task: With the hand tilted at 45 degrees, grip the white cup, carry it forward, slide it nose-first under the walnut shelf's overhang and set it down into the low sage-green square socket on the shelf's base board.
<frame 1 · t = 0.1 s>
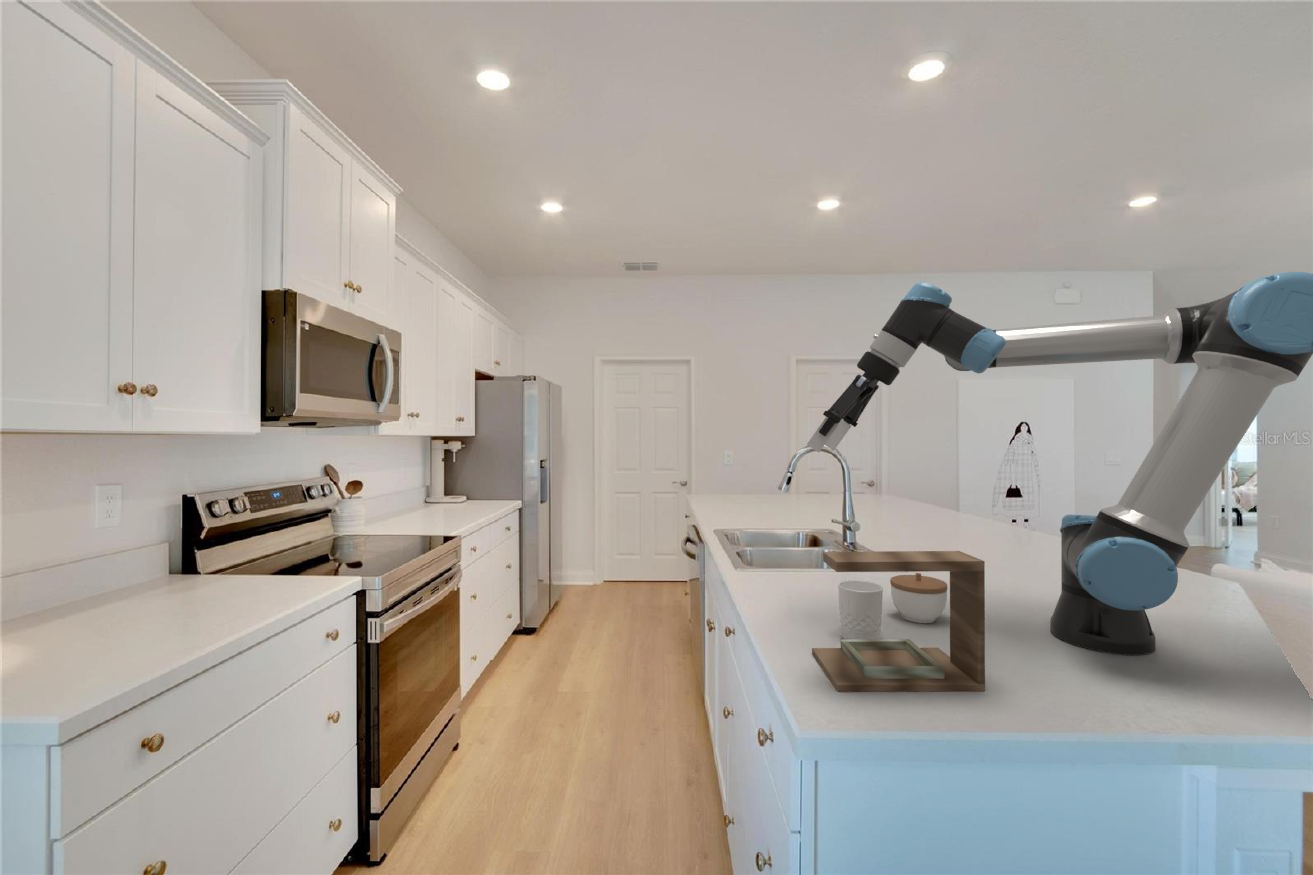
hand: (820, 447, 113), 36 cm above the counter, tool tilted 35°, fingers open, 13 cm apart
shelf unit: (891, 670, 89), on the counter
white cup: (860, 639, 103), on the counter
lidded jar: (918, 619, 114), on the counter
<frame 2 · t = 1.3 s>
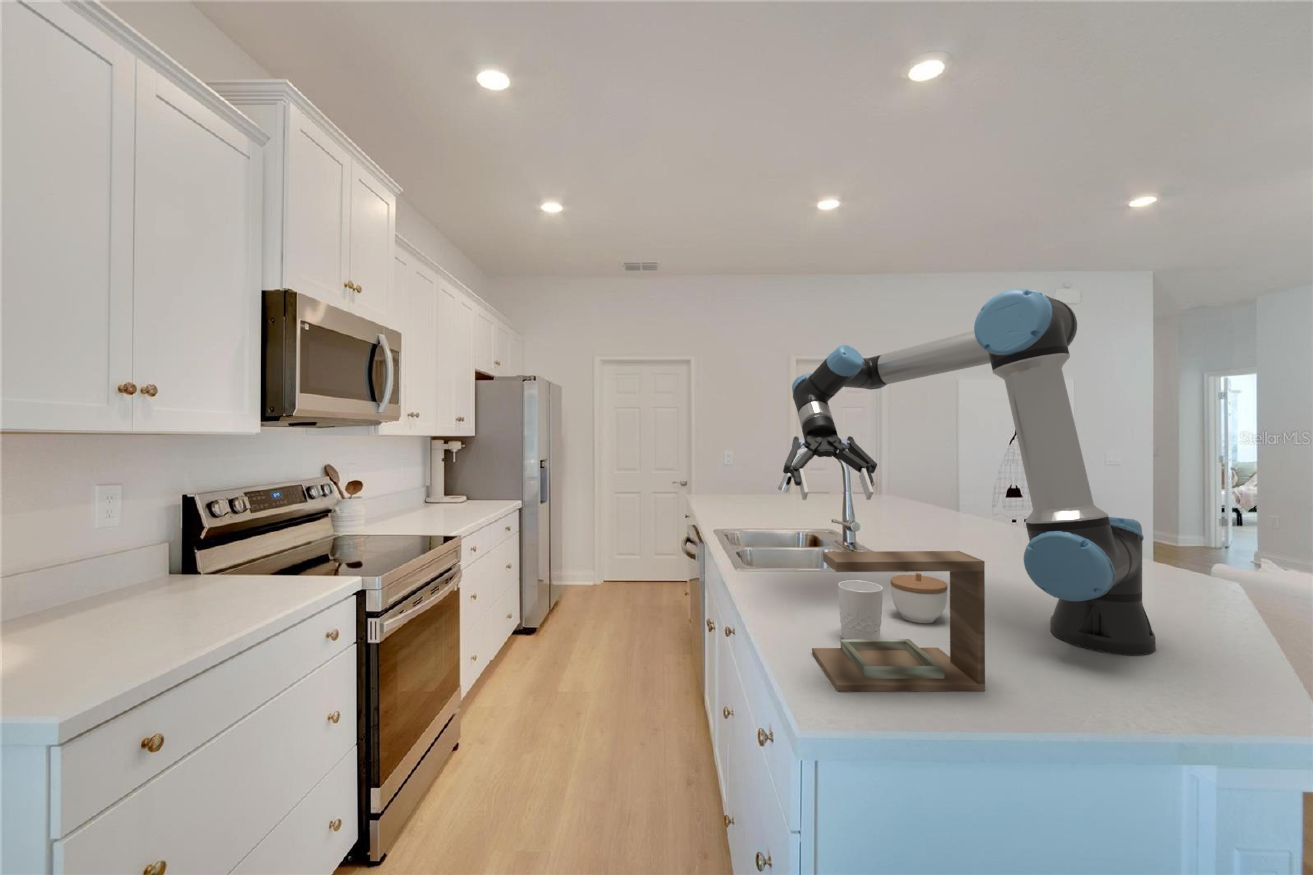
hand: (837, 496, 115), 25 cm above the counter, tool tilted 45°, fingers open, 13 cm apart
nothing on the counter moved.
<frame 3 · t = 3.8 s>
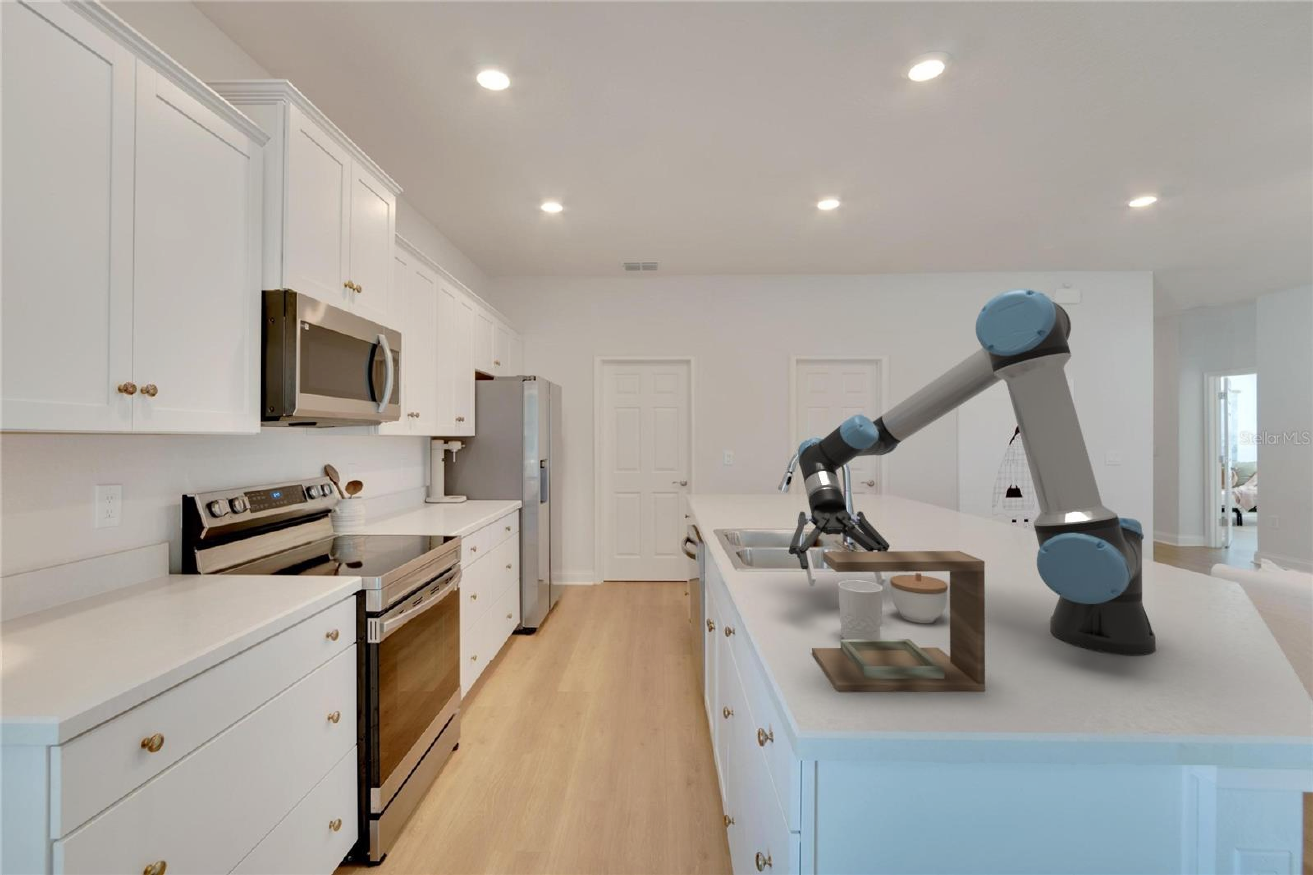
hand: (847, 583, 107), 9 cm above the counter, tool tilted 45°, fingers open, 13 cm apart
nothing on the counter moved.
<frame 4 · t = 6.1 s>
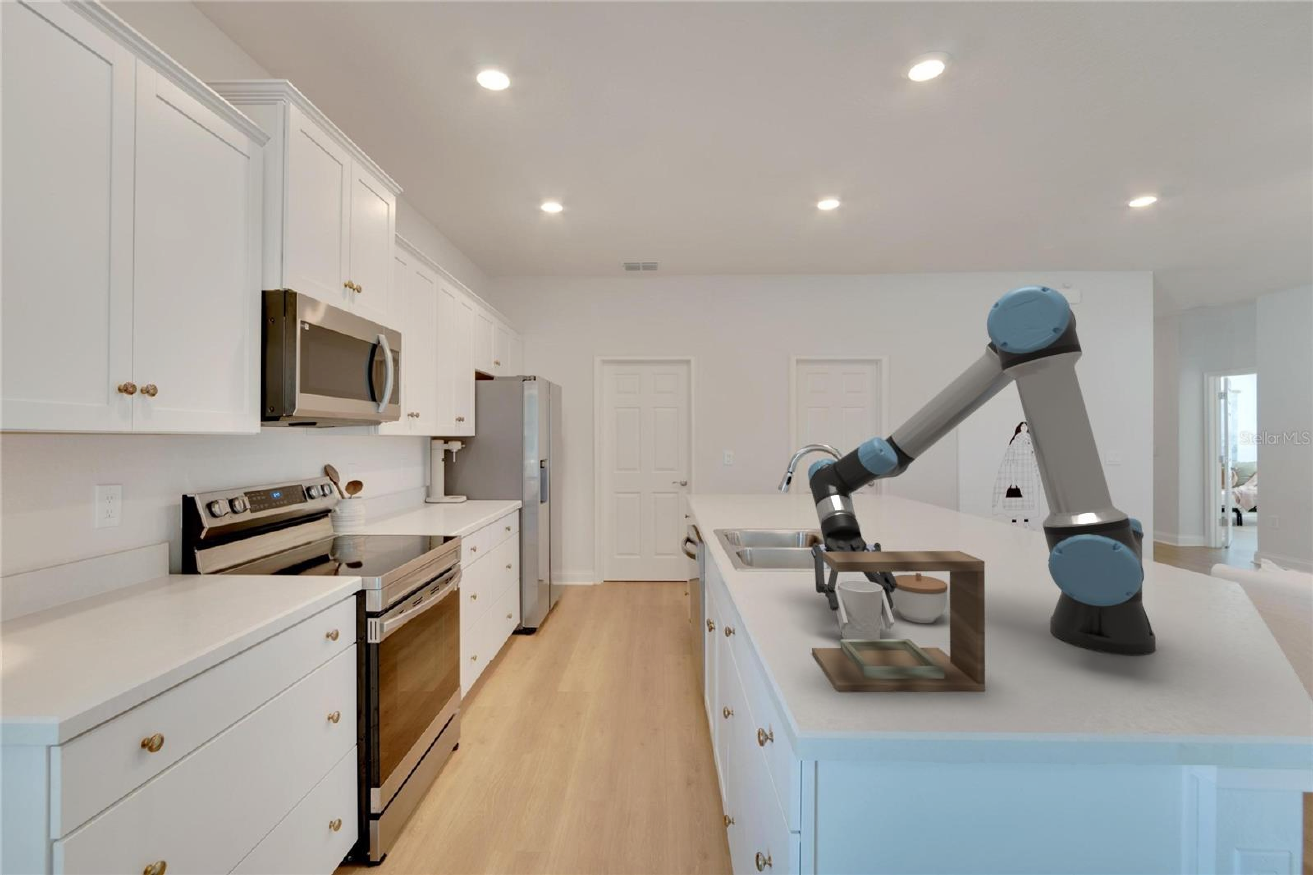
hand: (867, 625, 99), 4 cm above the counter, tool tilted 45°, fingers closed on white cup, 8 cm apart
white cup: (860, 639, 103), on the counter, touching gripper
everything else where it was.
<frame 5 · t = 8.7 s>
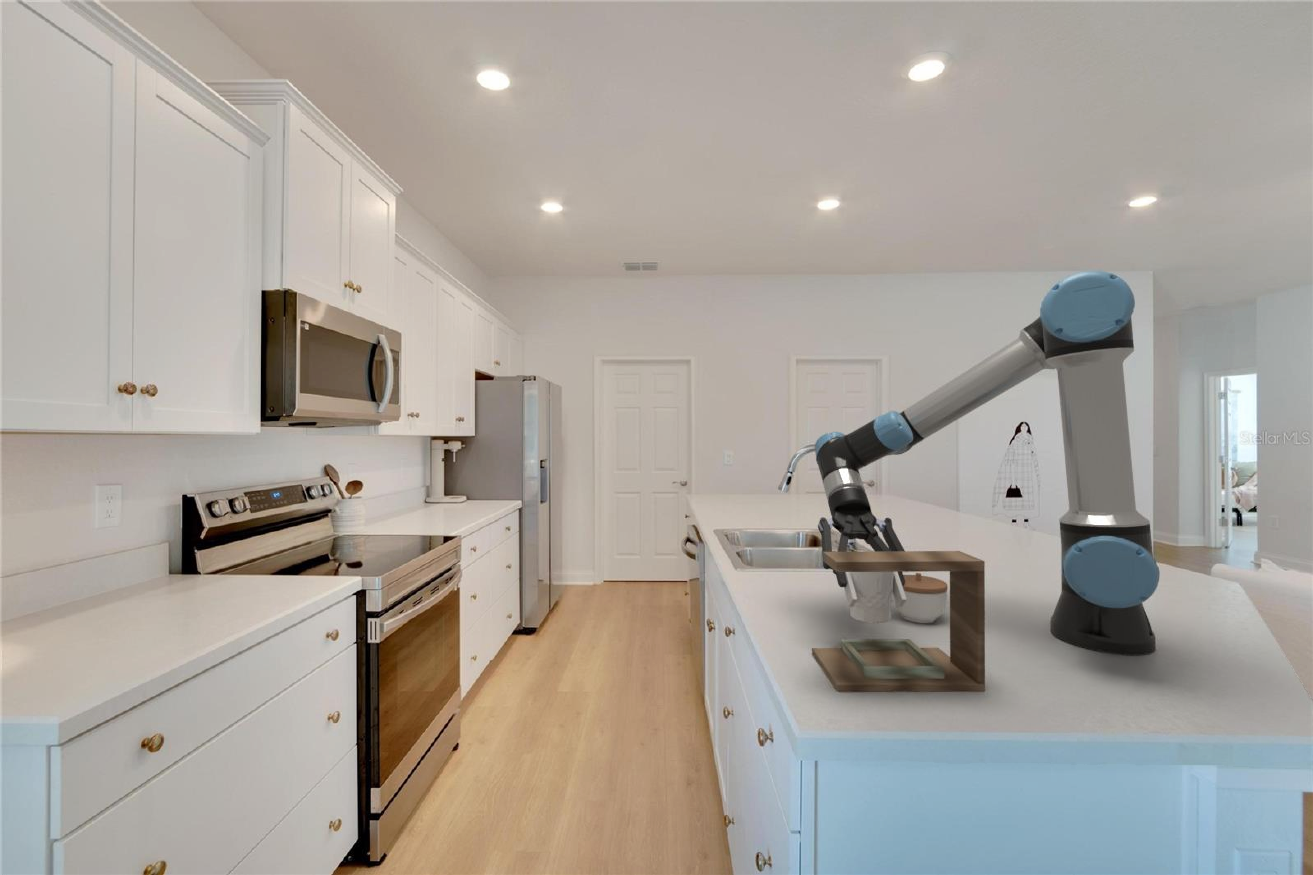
hand: (877, 603, 94), 10 cm above the counter, tool tilted 45°, fingers closed on white cup, 8 cm apart
white cup: (869, 618, 97), point 6 cm above the counter, touching gripper
everything else where it was.
when the fingers open (5 cm above the counter, at t = 11.6 s): white cup stays where it is, resting on shelf unit.
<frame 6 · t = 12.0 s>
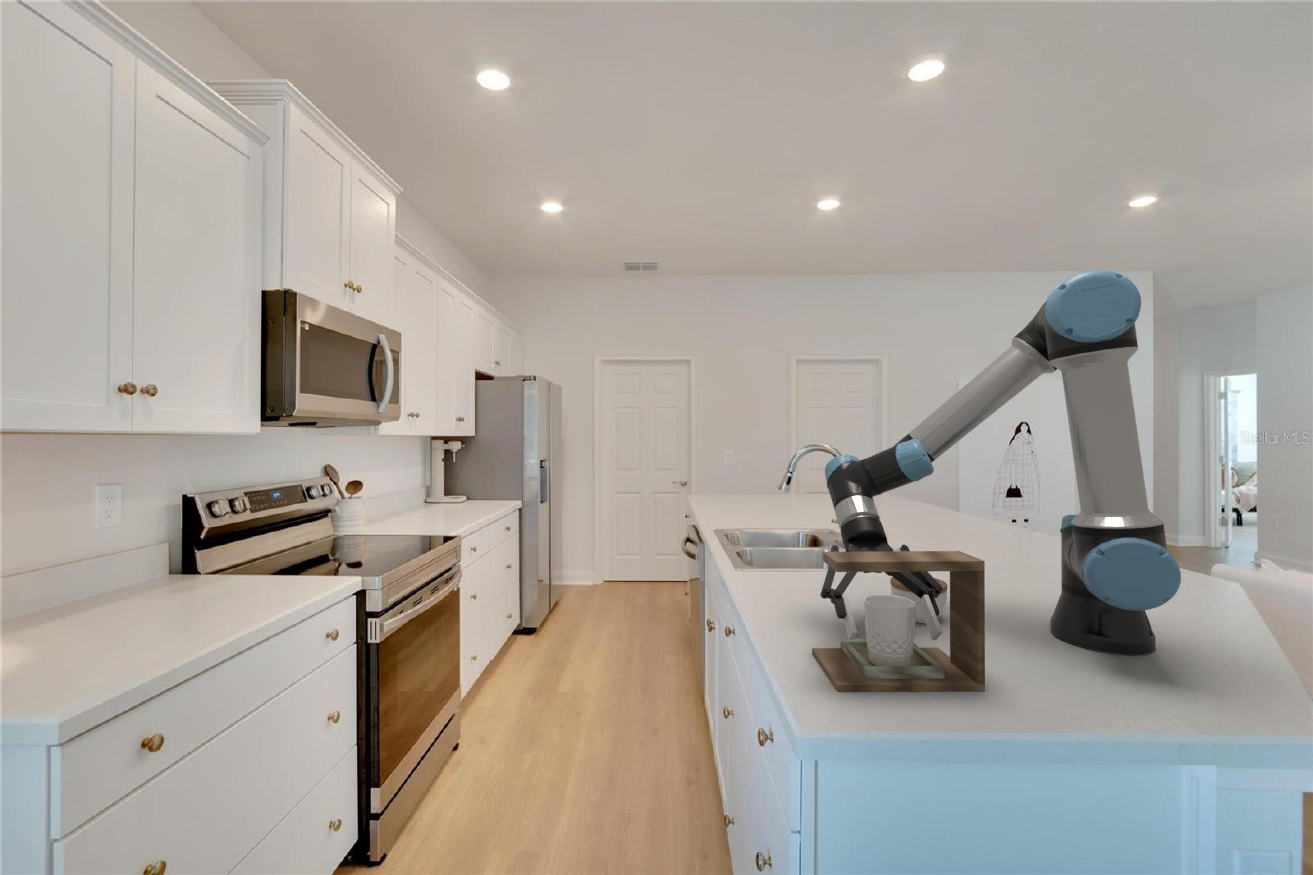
hand: (895, 636, 87), 6 cm above the counter, tool tilted 45°, fingers open, 13 cm apart
white cup: (889, 663, 90), point 1 cm above the counter, touching shelf unit
everything else where it was.
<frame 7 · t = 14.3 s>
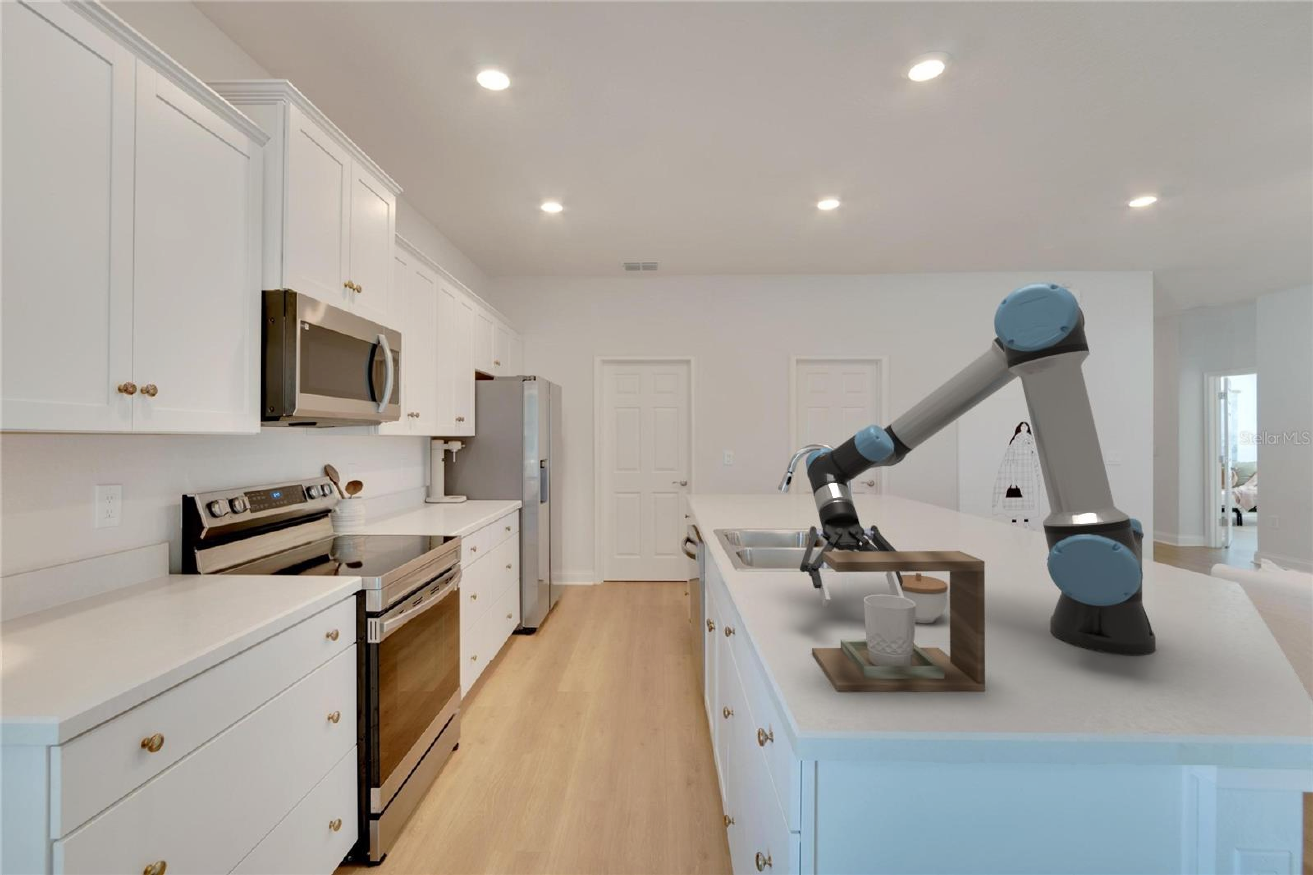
hand: (863, 602, 101), 7 cm above the counter, tool tilted 45°, fingers open, 13 cm apart
nothing on the counter moved.
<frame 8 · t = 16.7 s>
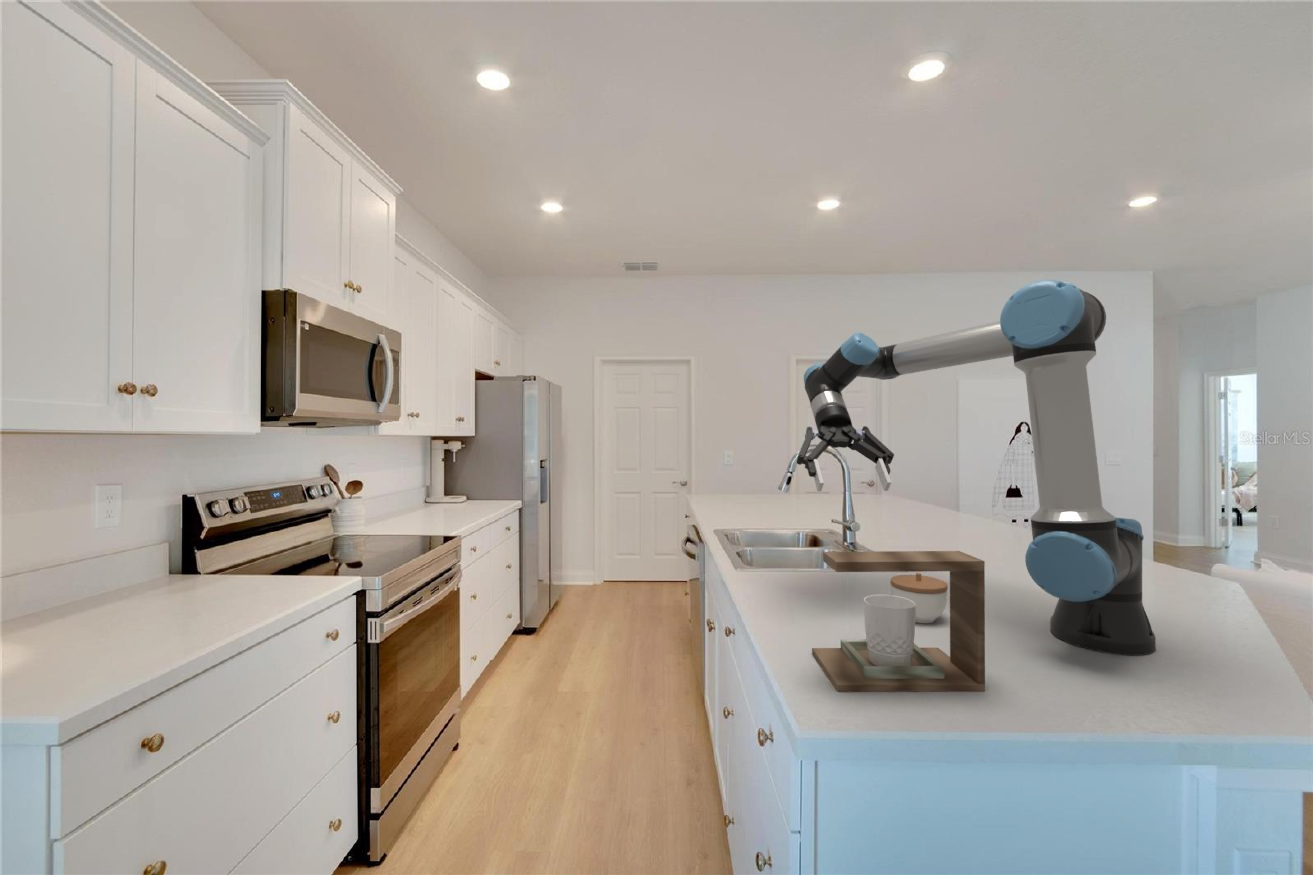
hand: (854, 487, 111), 28 cm above the counter, tool tilted 45°, fingers open, 13 cm apart
nothing on the counter moved.
at the end: white cup 0.2 cm from the target spot on the shelf unit, point 0.8 cm above the shelf unit's base; white cup tilted 0°; the gripper is holding nothing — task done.
